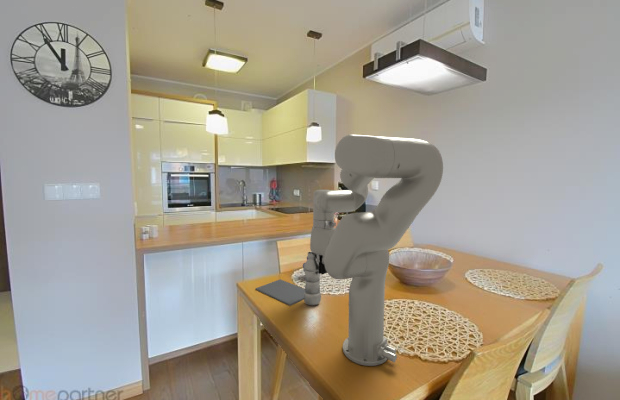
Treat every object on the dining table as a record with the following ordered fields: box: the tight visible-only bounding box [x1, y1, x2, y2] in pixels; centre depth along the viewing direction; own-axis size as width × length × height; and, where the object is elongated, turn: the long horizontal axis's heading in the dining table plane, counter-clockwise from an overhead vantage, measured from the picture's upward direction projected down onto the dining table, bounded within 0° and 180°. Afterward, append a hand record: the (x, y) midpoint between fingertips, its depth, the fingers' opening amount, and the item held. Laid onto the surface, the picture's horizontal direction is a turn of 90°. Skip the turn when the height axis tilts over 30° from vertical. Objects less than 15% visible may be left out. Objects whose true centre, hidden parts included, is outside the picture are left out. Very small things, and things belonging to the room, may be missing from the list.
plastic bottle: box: [303, 251, 322, 306], centre depth 102 cm, size 6×7×20 cm
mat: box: [255, 278, 305, 307], centre depth 114 cm, size 22×14×1 cm, turn 47°
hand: (323, 272), depth 99 cm, fingers closed
